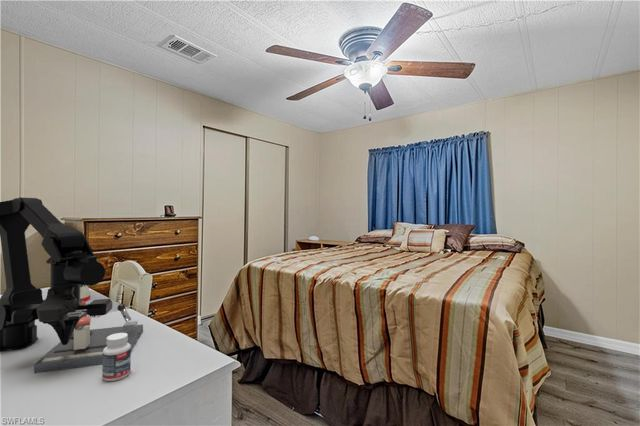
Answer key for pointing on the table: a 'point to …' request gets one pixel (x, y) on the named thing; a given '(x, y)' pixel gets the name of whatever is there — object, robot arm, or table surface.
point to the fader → (81, 337)
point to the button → (83, 322)
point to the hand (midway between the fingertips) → (65, 344)
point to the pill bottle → (116, 357)
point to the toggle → (124, 312)
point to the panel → (91, 354)
